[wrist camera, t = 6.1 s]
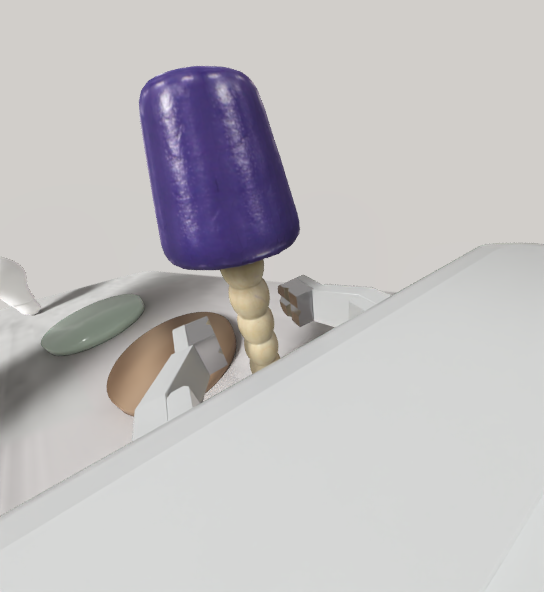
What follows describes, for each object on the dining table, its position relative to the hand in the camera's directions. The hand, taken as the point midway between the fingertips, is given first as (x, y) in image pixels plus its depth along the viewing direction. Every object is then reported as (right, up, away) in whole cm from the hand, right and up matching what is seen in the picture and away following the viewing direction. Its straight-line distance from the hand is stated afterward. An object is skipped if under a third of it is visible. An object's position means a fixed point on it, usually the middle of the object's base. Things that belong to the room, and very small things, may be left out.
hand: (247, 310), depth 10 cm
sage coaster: (-24, -3, +19) cm, 31 cm away
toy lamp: (+2, -8, +4) cm, 9 cm away
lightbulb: (-42, -3, +26) cm, 50 cm away
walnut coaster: (-8, -6, +11) cm, 15 cm away
